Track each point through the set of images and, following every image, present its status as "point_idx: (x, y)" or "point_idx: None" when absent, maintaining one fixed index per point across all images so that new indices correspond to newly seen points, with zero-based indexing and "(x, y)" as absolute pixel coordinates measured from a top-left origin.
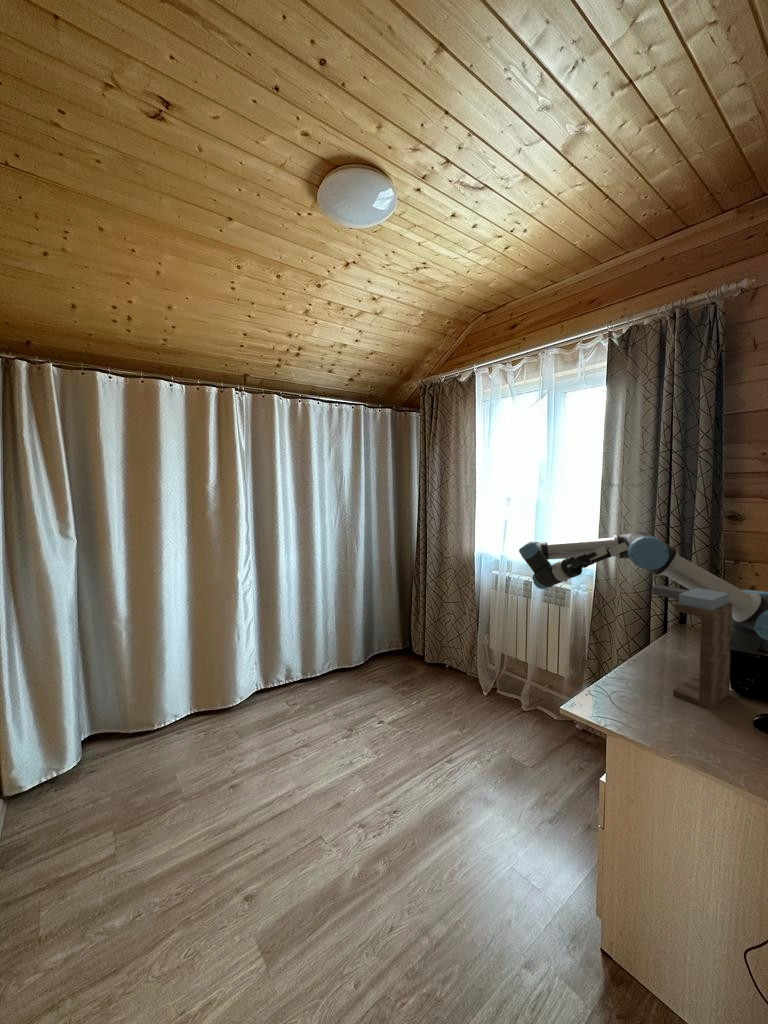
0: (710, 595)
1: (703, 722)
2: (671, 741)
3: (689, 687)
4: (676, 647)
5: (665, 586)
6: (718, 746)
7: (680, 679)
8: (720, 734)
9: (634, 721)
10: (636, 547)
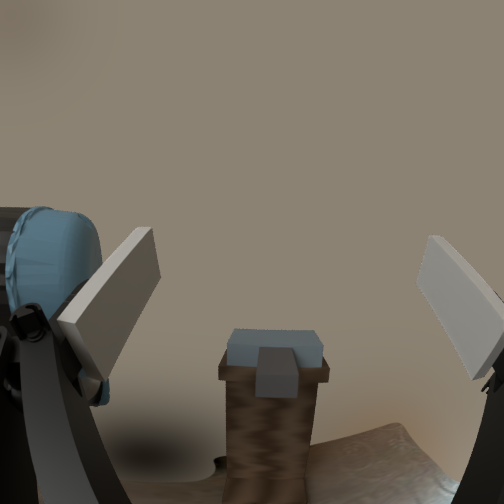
0: (278, 333)
1: (341, 468)
2: (410, 459)
3: (272, 494)
4: None
5: (262, 366)
6: (372, 448)
7: None
8: (348, 455)
9: (422, 485)
10: (88, 268)
